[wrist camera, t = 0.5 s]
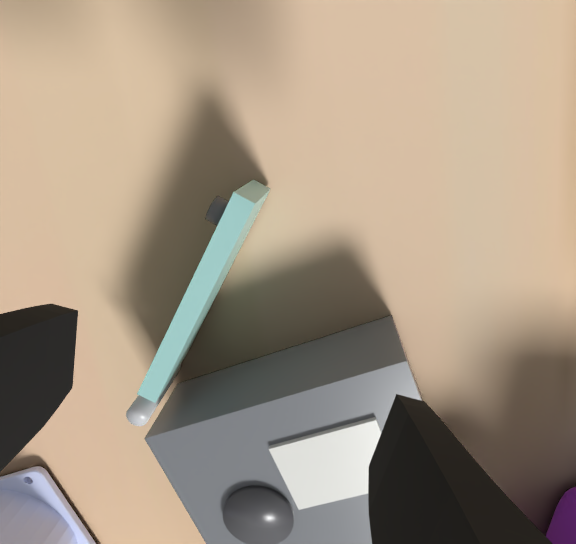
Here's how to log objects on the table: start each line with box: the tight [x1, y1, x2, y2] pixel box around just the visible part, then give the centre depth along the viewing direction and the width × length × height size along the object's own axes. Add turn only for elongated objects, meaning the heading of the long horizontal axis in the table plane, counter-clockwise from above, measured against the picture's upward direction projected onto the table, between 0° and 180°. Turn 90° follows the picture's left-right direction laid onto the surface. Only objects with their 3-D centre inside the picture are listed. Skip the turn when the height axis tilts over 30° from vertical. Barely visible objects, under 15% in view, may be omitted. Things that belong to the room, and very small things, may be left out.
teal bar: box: [126, 179, 270, 426], centre depth 17 cm, size 10×2×4 cm, turn 152°
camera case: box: [145, 315, 423, 544], centre depth 19 cm, size 11×8×4 cm
